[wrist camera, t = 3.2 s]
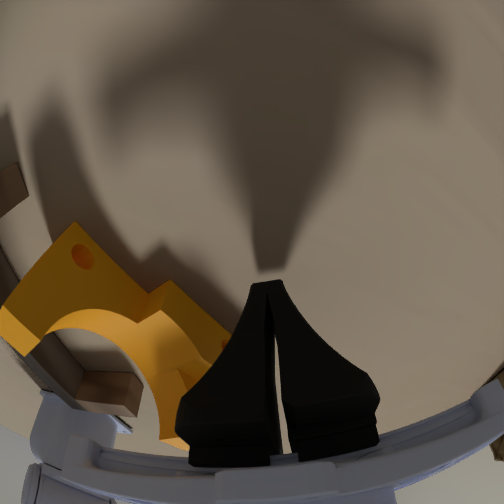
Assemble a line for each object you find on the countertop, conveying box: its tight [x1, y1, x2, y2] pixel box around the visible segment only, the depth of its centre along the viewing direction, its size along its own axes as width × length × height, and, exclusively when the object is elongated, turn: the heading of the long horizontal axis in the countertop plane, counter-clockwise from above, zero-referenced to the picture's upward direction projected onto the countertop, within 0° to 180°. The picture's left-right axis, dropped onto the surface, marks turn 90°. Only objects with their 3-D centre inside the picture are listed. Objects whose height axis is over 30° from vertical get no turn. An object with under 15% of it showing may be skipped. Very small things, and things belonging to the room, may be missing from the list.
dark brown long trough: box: [0, 162, 144, 418], centre depth 14 cm, size 7×18×3 cm, turn 10°
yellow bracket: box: [0, 221, 232, 450], centre depth 12 cm, size 12×4×6 cm, turn 35°
